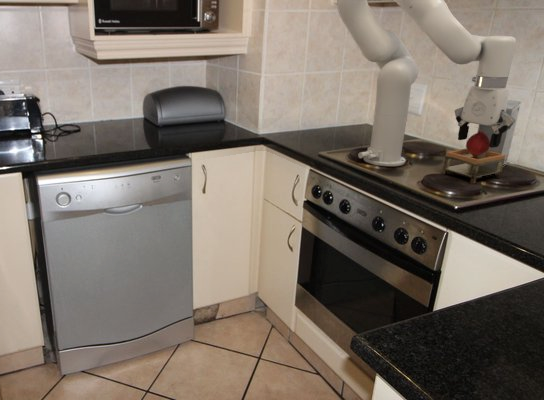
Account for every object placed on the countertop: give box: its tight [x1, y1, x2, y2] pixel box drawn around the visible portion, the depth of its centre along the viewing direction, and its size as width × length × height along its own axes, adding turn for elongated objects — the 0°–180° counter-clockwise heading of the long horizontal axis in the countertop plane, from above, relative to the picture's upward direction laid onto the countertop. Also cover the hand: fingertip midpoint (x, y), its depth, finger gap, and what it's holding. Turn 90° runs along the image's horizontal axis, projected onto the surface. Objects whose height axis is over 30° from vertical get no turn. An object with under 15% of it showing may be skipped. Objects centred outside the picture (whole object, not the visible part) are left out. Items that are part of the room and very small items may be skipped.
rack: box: [441, 147, 506, 185], centre depth 141 cm, size 12×10×7 cm
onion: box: [465, 129, 490, 157], centre depth 138 cm, size 6×6×8 cm
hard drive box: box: [476, 99, 522, 176], centre depth 146 cm, size 16×8×20 cm, turn 139°
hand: (477, 143), depth 138 cm, fingers open, 9 cm apart
